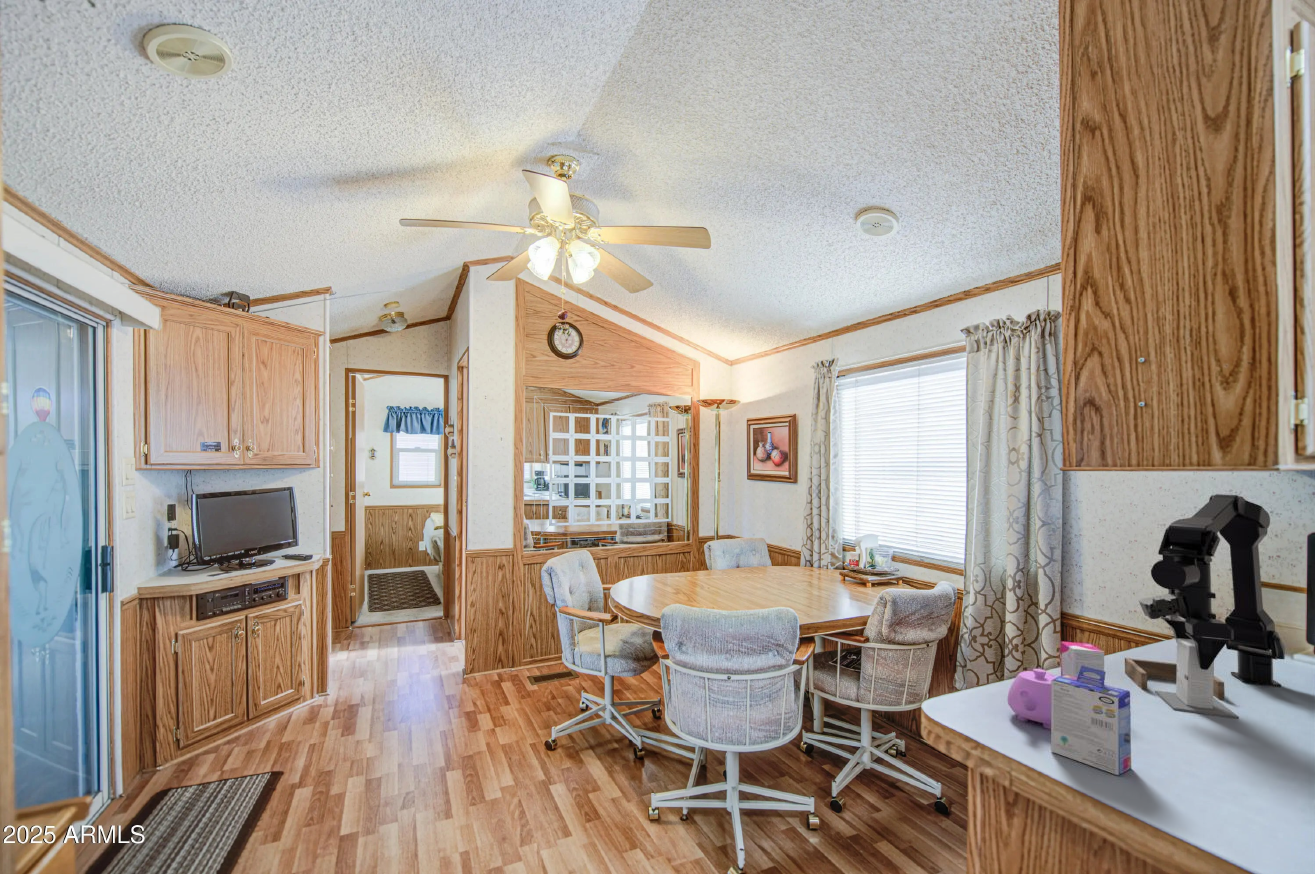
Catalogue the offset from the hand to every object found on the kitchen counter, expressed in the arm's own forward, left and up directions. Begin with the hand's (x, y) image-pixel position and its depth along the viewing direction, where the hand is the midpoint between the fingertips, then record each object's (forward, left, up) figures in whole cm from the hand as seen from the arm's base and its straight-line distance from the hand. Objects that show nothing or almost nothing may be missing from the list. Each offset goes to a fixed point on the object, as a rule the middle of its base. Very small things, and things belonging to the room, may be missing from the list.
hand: (1193, 662), depth 123 cm
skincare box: (0, 0, -8) cm, 8 cm away
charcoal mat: (0, 0, -8) cm, 8 cm away
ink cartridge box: (+37, -26, -9) cm, 46 cm away
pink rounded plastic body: (+23, -31, -9) cm, 39 cm away
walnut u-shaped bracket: (-11, 0, -9) cm, 14 cm away
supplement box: (+9, -21, -9) cm, 24 cm away
